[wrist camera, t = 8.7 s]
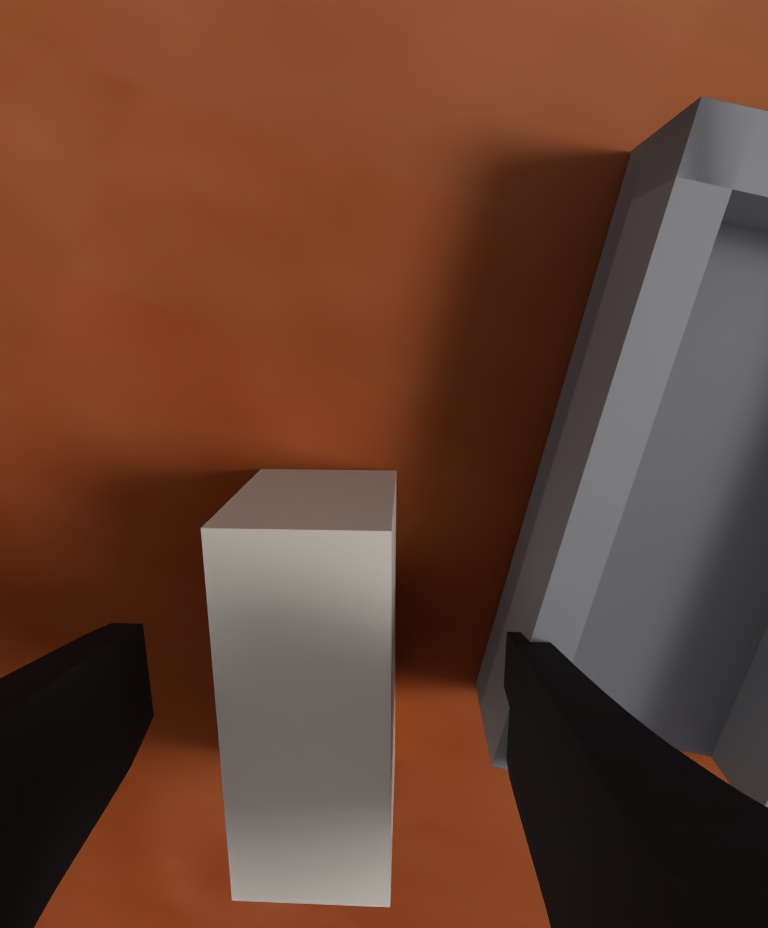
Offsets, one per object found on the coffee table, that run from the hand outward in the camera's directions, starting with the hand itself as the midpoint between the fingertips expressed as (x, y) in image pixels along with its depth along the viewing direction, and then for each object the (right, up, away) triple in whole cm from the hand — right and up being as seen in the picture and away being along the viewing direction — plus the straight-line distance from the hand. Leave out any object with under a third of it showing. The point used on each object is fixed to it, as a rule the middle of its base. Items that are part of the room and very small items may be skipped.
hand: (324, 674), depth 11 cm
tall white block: (0, +1, +2) cm, 2 cm away
